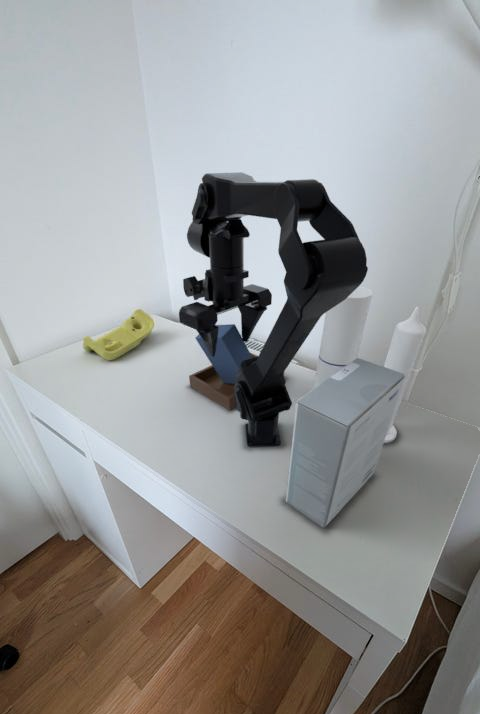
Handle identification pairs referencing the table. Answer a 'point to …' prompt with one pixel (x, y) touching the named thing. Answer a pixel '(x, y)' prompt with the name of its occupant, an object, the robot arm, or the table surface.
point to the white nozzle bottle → (404, 357)
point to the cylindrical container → (342, 334)
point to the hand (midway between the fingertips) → (229, 348)
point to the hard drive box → (340, 437)
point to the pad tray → (214, 387)
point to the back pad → (227, 352)
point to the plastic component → (121, 337)
